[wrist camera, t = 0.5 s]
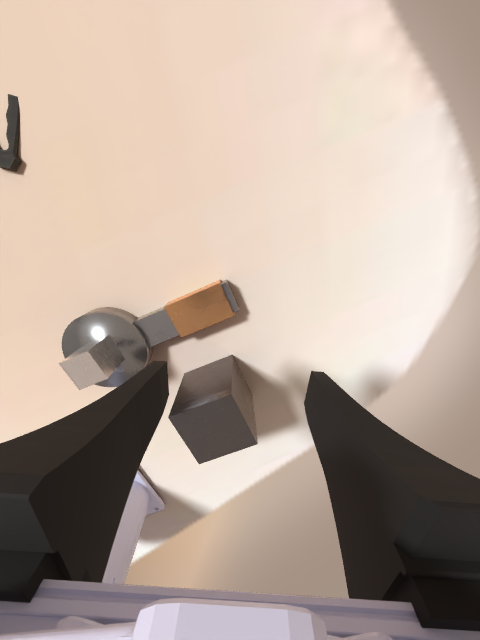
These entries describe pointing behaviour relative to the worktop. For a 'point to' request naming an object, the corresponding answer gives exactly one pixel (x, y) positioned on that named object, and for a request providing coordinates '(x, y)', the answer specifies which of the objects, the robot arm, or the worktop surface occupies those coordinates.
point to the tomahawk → (11, 136)
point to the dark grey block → (214, 411)
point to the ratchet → (137, 335)
